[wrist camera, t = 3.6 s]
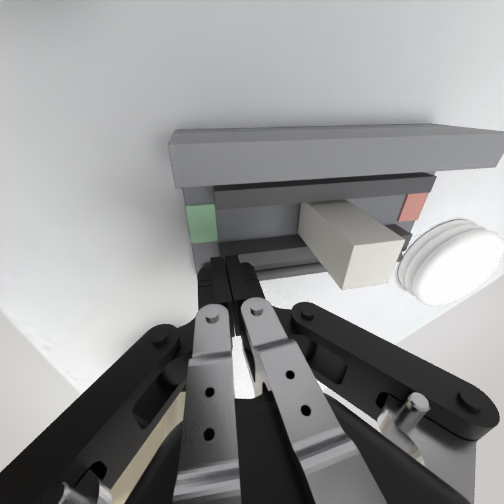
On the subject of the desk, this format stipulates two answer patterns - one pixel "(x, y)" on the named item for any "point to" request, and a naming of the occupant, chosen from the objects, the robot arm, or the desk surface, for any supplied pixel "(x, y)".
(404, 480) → the robot arm
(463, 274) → the white round disc
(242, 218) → the grey slider panel
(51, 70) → the desk surface
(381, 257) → the handle
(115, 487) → the character mug
